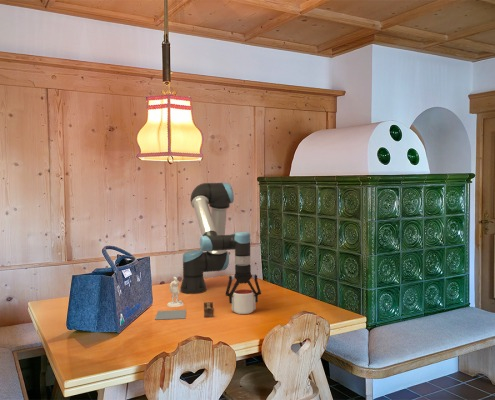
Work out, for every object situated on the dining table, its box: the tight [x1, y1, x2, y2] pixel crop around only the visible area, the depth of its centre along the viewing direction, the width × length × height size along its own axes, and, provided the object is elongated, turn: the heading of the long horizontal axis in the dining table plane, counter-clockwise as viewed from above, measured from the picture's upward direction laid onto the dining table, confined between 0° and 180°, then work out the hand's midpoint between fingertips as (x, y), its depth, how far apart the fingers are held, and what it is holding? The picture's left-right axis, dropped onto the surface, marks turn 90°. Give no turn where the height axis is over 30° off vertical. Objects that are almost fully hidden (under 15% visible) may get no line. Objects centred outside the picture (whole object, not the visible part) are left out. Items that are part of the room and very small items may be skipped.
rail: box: [203, 301, 215, 318], centre depth 232 cm, size 12×4×4 cm, turn 6°
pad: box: [154, 309, 187, 321], centre depth 230 cm, size 14×14×1 cm
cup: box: [232, 288, 255, 315], centre depth 234 cm, size 10×10×10 cm
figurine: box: [166, 276, 184, 308], centre depth 249 cm, size 9×9×15 cm
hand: (243, 309), depth 234 cm, fingers closed on cup, 10 cm apart
